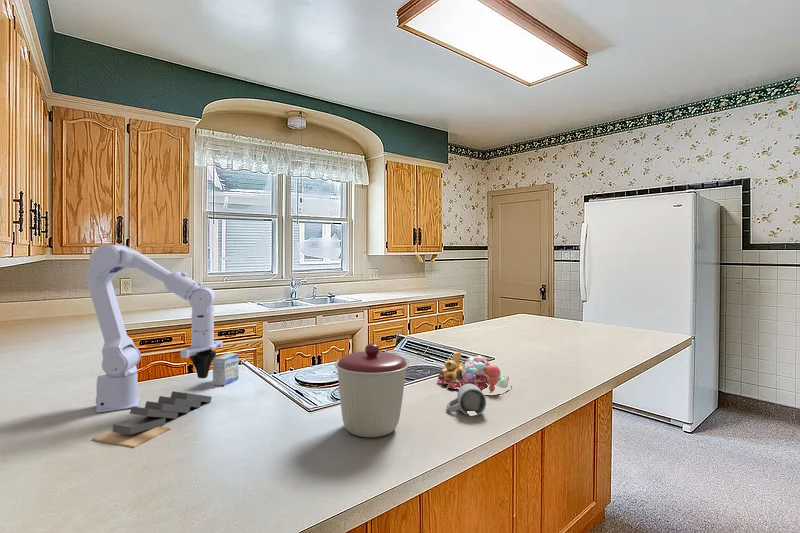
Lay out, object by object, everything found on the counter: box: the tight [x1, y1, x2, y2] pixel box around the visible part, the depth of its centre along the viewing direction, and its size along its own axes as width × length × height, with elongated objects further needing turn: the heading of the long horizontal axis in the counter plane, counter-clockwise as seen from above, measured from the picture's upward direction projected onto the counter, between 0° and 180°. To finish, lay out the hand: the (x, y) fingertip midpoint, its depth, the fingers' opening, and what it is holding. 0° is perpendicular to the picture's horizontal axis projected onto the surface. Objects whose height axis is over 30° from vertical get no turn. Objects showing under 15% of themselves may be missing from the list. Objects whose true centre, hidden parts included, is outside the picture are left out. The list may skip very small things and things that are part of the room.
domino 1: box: [112, 416, 167, 435], centre depth 103 cm, size 2×5×10 cm
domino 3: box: [144, 400, 191, 414], centre depth 111 cm, size 2×5×10 cm
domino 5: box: [170, 391, 212, 403], centre depth 119 cm, size 2×5×10 cm
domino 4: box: [157, 395, 202, 409], centre depth 115 cm, size 2×5×10 cm
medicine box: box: [212, 352, 240, 387], centre depth 141 cm, size 8×4×9 cm, turn 168°
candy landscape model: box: [436, 351, 510, 393], centre depth 146 cm, size 25×24×9 cm
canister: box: [334, 343, 410, 438], centre depth 106 cm, size 18×18×21 cm
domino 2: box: [129, 406, 179, 419], centre depth 107 cm, size 2×5×10 cm
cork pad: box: [91, 426, 171, 448], centre depth 101 cm, size 10×12×1 cm
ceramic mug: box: [446, 384, 487, 416], centre depth 120 cm, size 10×8×7 cm
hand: (202, 377), depth 123 cm, fingers closed
